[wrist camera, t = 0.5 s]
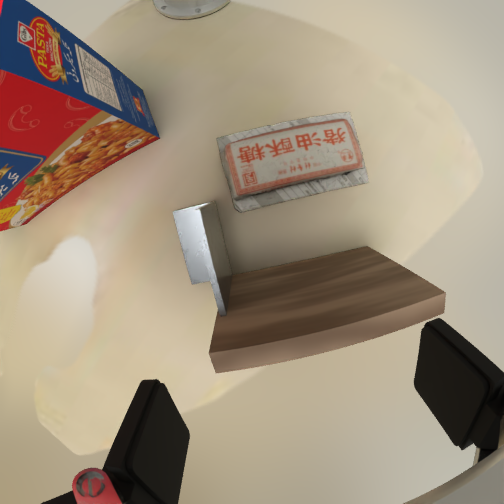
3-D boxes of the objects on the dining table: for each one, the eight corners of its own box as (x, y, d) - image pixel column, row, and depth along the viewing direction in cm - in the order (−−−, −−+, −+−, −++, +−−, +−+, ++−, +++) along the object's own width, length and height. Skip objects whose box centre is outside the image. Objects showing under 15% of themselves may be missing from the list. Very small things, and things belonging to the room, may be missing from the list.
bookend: (173, 211, 35) (140, 224, 23) (215, 201, 35) (199, 209, 23) (192, 283, 37) (171, 324, 26) (232, 275, 37) (226, 315, 25)
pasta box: (25, 224, 35) (-105, 270, 7) (13, 182, 33) (-114, 203, 6) (160, 138, 33) (-5, 67, 6) (142, 90, 31) (6, -13, 4)
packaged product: (234, 217, 31) (212, 132, 29) (236, 213, 36) (216, 139, 33) (381, 183, 30) (360, 104, 28) (365, 183, 35) (347, 113, 33)
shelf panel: (225, 276, 37) (208, 353, 20) (367, 246, 37) (445, 292, 19) (228, 290, 38) (215, 373, 20) (368, 259, 37) (444, 312, 20)
